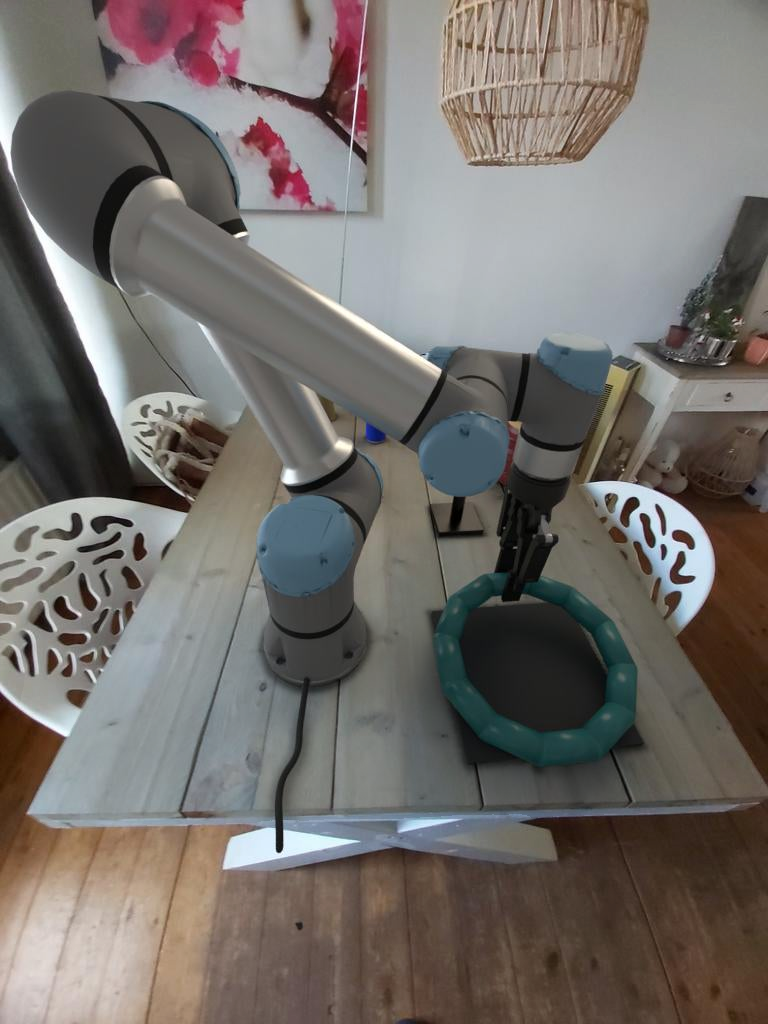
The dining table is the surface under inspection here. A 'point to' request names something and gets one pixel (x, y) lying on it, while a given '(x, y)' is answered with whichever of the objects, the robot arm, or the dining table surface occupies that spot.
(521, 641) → the mat
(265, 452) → the dining table surface
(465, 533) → the stand
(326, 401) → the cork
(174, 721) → the dining table surface
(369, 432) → the beverage can
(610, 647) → the hoop
